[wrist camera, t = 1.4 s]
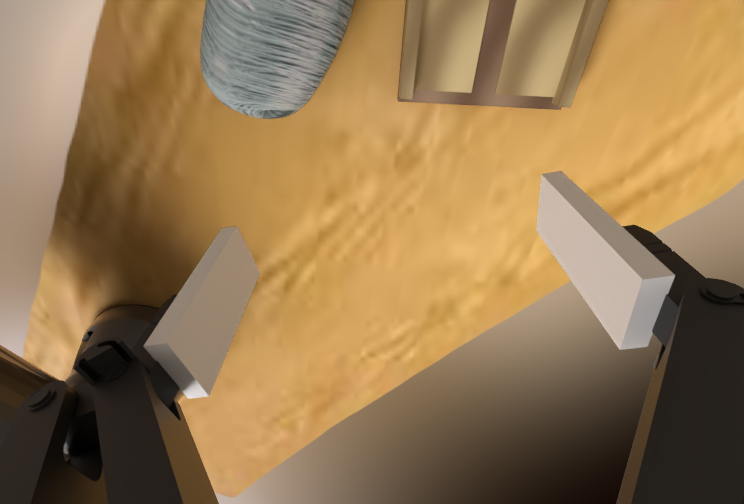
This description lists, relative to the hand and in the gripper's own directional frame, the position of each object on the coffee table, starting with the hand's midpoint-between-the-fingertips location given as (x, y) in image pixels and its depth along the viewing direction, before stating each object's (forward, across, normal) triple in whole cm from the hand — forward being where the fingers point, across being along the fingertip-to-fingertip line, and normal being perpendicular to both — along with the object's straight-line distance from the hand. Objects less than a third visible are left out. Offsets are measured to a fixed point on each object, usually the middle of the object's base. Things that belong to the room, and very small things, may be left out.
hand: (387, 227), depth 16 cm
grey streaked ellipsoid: (+20, -6, +8) cm, 22 cm away
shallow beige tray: (+20, +10, +6) cm, 23 cm away
